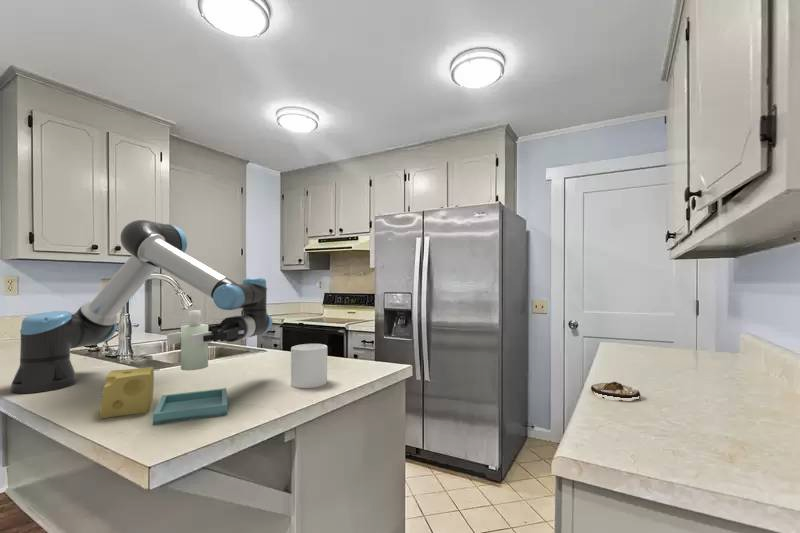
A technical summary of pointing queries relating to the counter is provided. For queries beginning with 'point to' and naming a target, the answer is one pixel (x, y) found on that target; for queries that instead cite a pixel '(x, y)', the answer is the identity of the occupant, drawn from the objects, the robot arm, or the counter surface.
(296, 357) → the cup
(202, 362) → the bottle
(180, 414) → the teal rectangular tray
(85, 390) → the counter surface
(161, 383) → the counter surface
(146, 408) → the cheese
